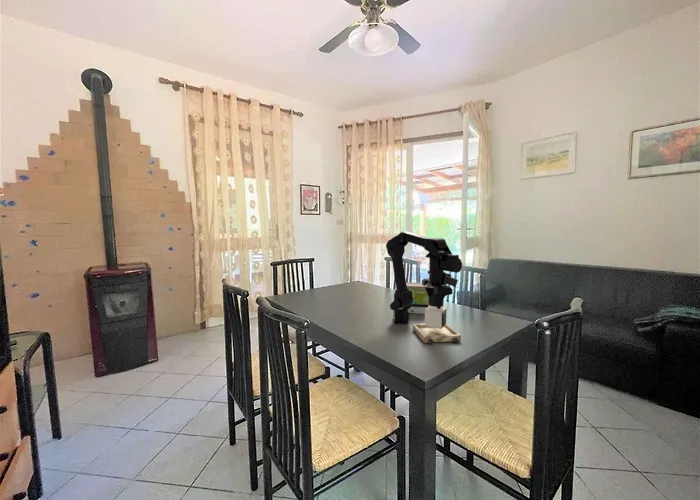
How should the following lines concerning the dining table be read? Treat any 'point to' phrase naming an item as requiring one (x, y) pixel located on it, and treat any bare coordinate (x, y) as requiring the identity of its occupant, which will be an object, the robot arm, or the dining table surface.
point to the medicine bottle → (435, 314)
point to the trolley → (436, 334)
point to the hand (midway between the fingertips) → (435, 306)
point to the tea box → (418, 298)
